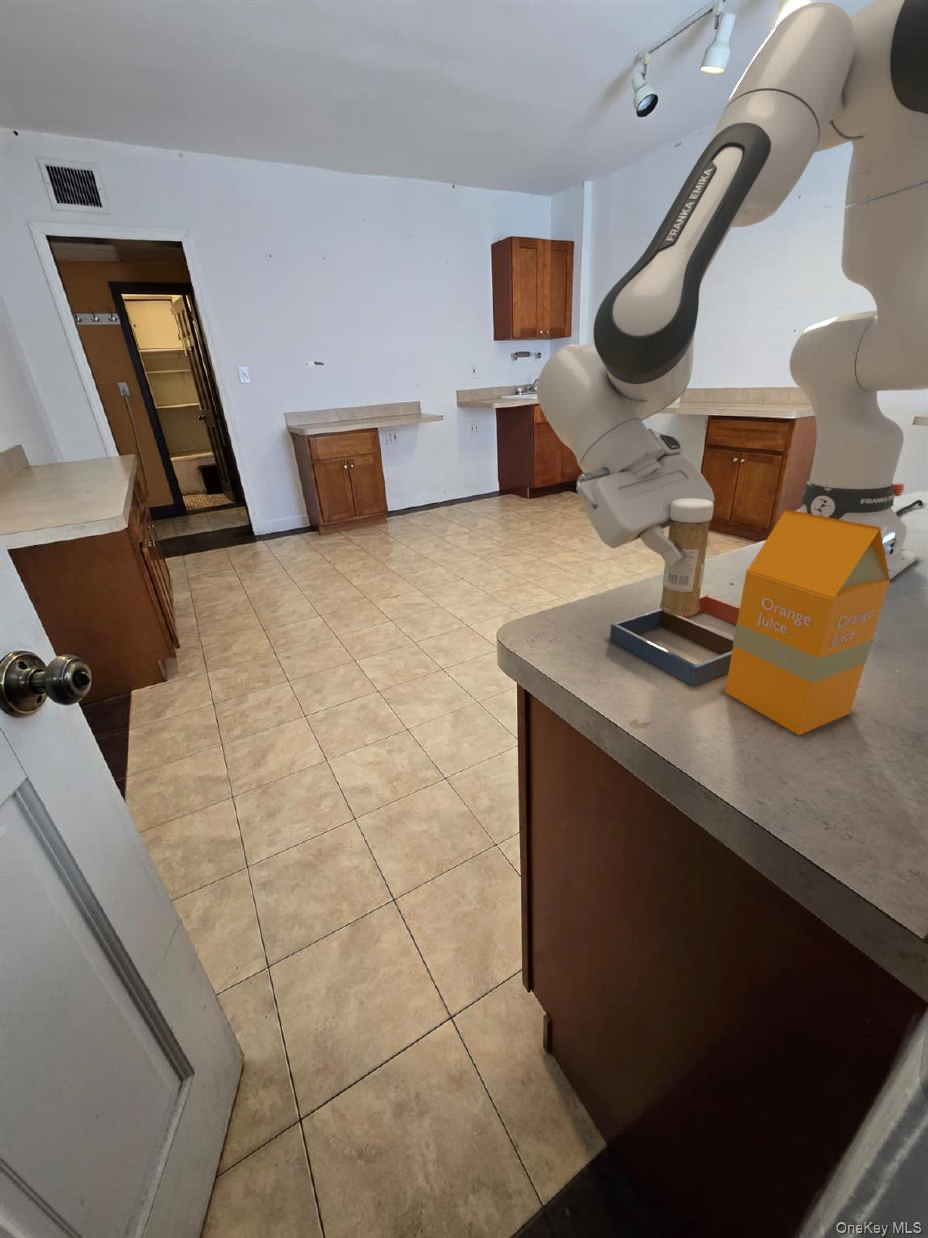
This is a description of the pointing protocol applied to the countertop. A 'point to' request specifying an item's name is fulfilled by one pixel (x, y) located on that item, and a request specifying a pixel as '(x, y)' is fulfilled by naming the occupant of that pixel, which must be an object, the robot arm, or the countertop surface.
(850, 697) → the orange juice
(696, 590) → the sprinkles bottle
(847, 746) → the countertop surface
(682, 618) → the sorting tray
